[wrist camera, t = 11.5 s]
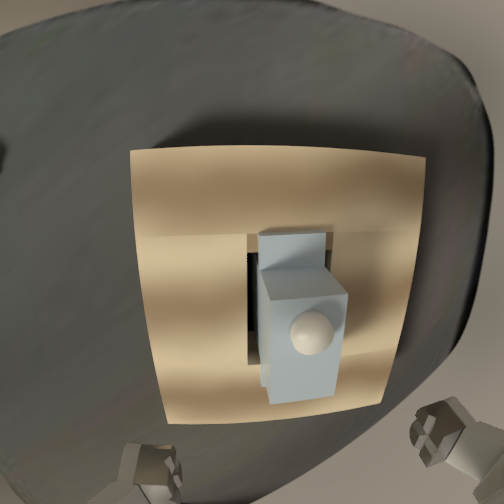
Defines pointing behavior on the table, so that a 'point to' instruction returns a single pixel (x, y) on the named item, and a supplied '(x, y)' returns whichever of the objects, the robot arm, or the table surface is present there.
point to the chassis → (246, 241)
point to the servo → (296, 316)
